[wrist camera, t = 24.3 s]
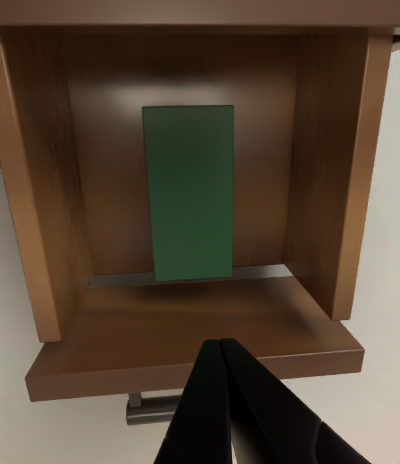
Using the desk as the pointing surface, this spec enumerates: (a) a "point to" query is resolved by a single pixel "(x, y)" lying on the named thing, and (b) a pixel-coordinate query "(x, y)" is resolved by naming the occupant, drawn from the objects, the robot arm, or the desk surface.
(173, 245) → the dark green foam brick
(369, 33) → the cabinet
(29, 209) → the drawer
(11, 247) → the desk surface
